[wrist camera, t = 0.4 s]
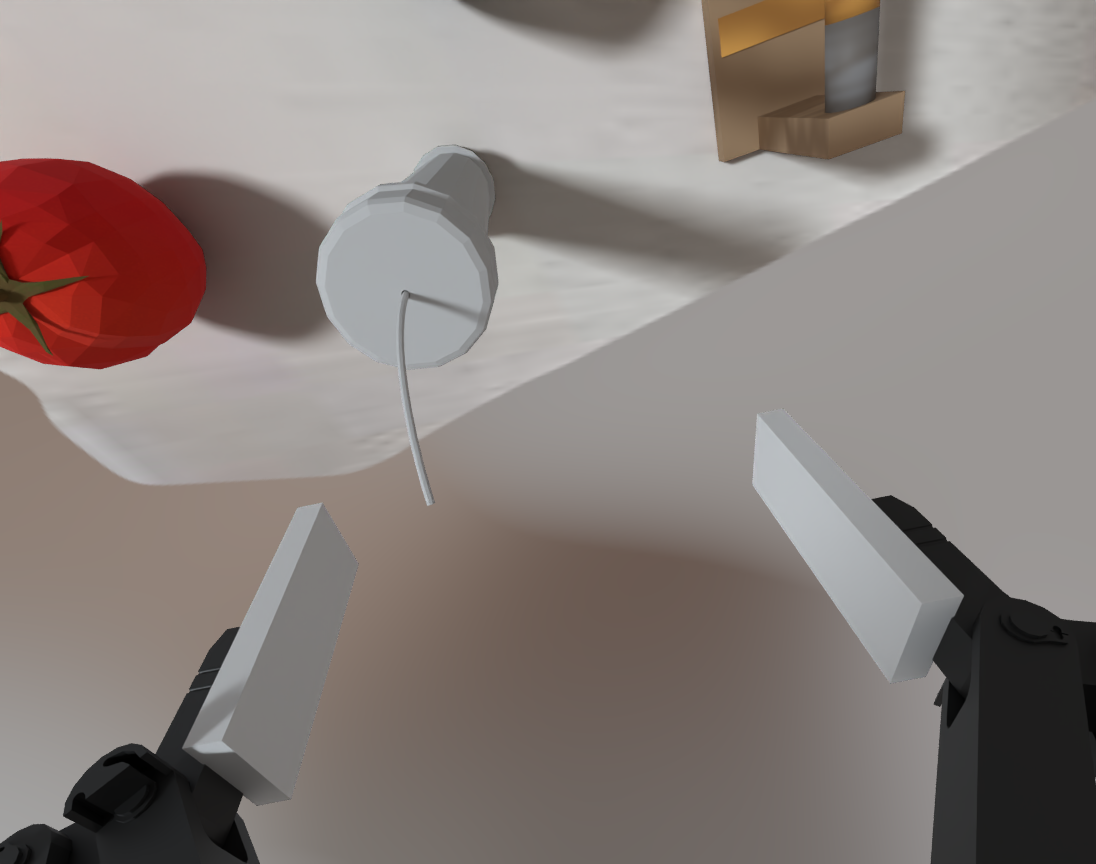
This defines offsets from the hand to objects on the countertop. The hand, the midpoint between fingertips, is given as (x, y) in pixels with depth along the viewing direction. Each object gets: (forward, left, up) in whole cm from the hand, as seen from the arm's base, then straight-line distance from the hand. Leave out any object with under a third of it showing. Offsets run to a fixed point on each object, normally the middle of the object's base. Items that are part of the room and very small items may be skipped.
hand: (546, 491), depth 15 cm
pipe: (-6, -2, -28) cm, 28 cm away
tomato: (-10, -24, -28) cm, 38 cm away
